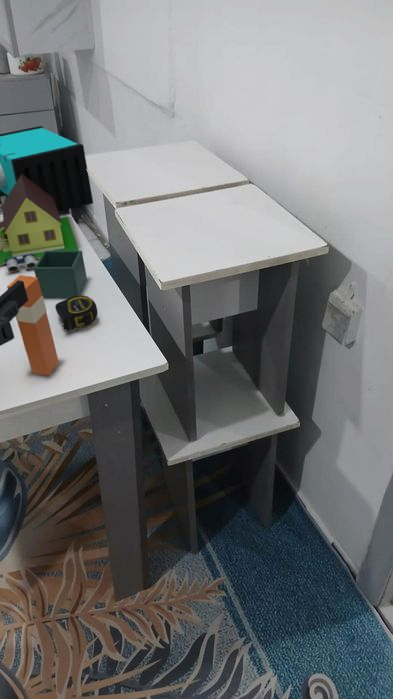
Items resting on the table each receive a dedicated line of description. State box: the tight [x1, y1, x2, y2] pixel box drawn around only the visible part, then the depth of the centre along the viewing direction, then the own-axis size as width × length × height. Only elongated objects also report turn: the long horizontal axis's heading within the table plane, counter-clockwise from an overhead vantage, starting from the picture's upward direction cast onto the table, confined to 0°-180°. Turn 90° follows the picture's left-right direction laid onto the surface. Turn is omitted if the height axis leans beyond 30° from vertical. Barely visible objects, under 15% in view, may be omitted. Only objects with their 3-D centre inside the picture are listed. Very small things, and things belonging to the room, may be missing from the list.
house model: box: [0, 173, 80, 266], centre depth 120 cm, size 18×20×13 cm
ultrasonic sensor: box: [5, 253, 37, 273], centre depth 113 cm, size 6×2×3 cm, turn 108°
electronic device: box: [0, 125, 94, 213], centre depth 137 cm, size 25×25×15 cm
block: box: [6, 274, 60, 377], centre depth 82 cm, size 3×4×16 cm
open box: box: [33, 250, 88, 299], centre depth 105 cm, size 8×7×6 cm
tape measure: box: [54, 295, 99, 332], centre depth 96 cm, size 7×7×4 cm
